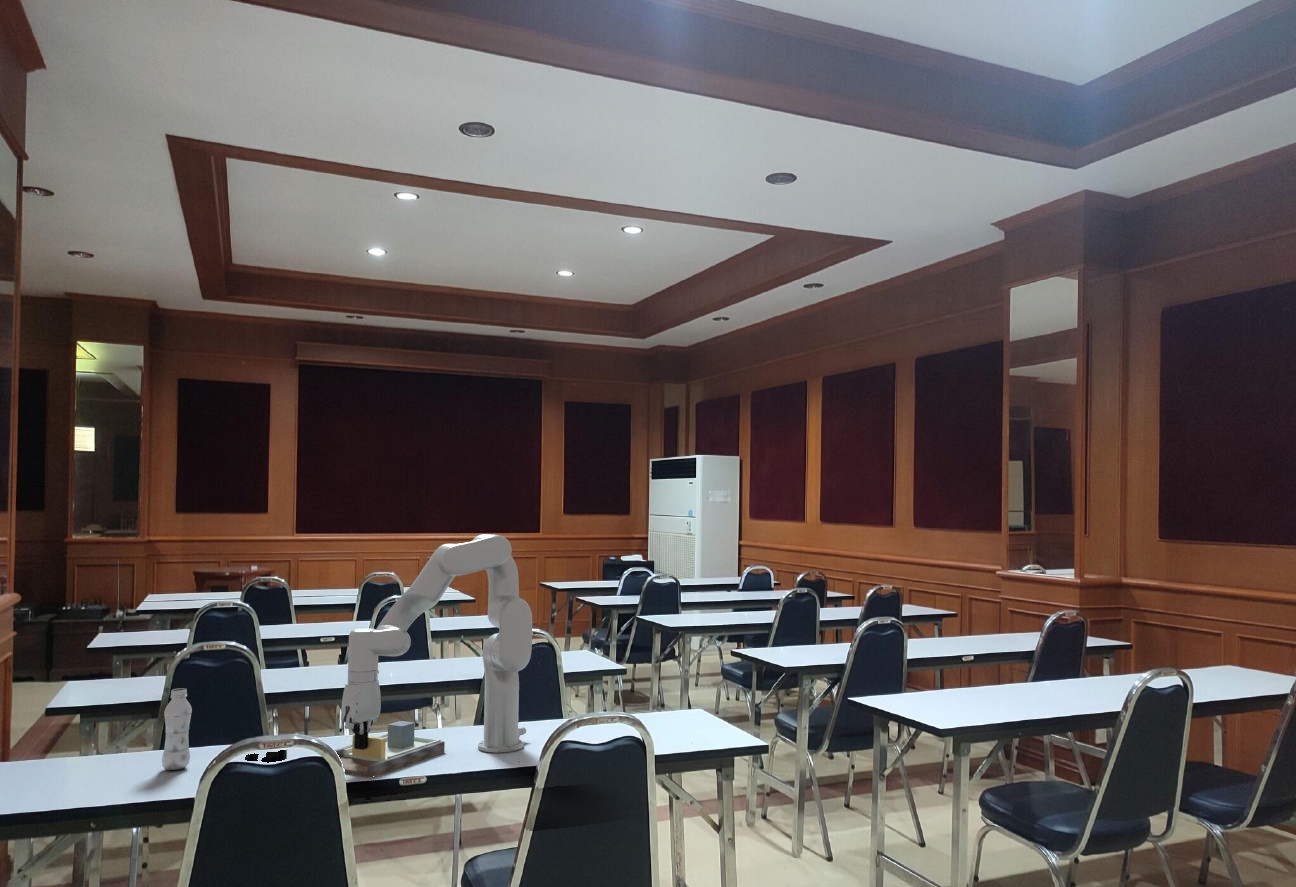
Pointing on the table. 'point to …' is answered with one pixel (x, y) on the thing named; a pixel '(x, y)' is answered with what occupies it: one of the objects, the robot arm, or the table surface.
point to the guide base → (387, 760)
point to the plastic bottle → (177, 731)
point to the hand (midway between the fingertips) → (361, 748)
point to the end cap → (269, 756)
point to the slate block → (400, 734)
